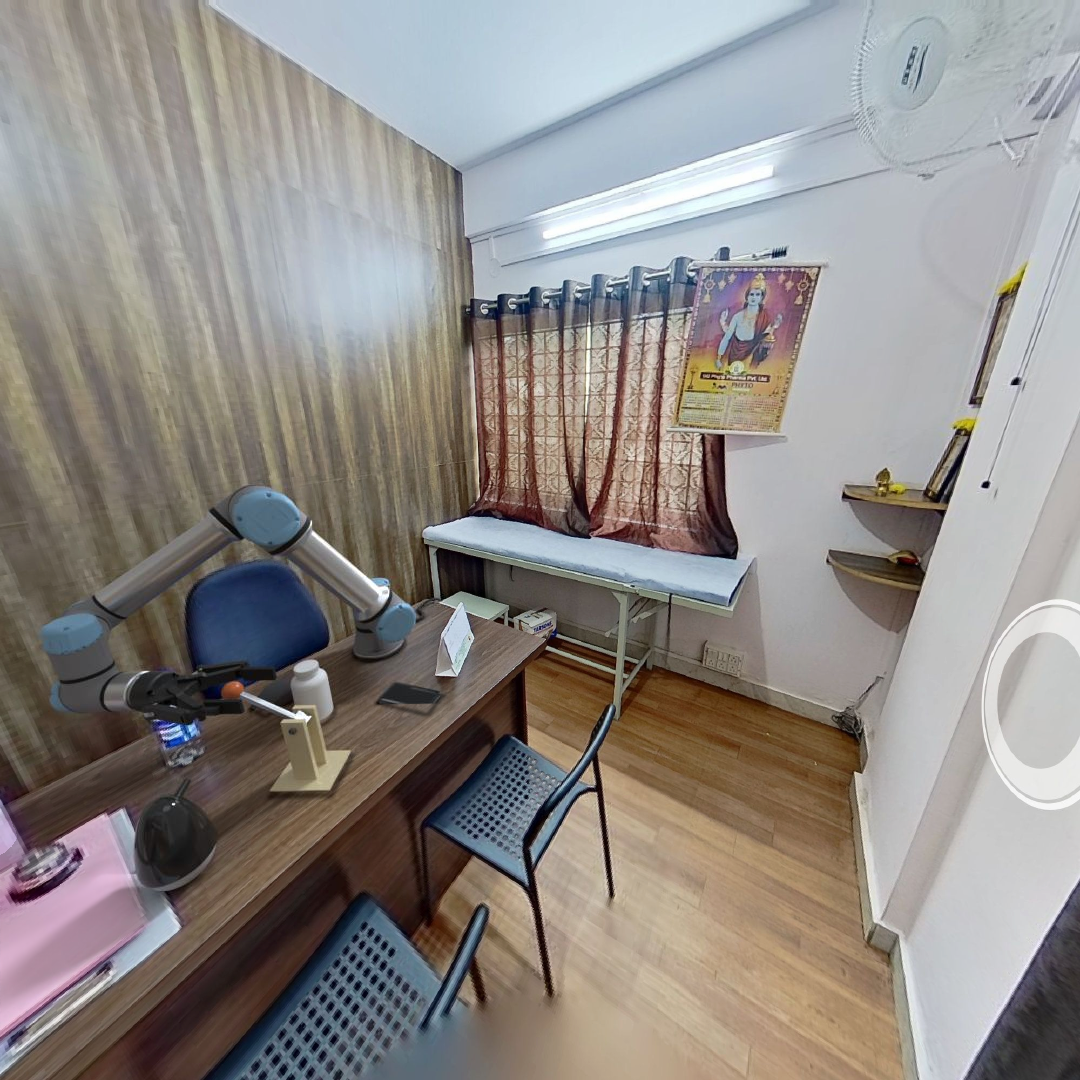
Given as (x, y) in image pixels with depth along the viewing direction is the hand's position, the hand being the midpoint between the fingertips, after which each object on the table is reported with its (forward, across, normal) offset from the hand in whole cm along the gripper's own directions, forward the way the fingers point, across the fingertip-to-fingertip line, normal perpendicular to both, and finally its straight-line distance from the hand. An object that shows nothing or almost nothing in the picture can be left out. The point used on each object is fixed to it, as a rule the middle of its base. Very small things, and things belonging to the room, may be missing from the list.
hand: (259, 689), depth 81 cm
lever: (0, 0, -5) cm, 5 cm away
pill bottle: (-2, -18, -22) cm, 28 cm away
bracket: (+7, 0, -22) cm, 23 cm away
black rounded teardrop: (-5, +18, -22) cm, 29 cm away
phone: (+20, -23, -22) cm, 38 cm away
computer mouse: (-15, -25, -22) cm, 37 cm away
